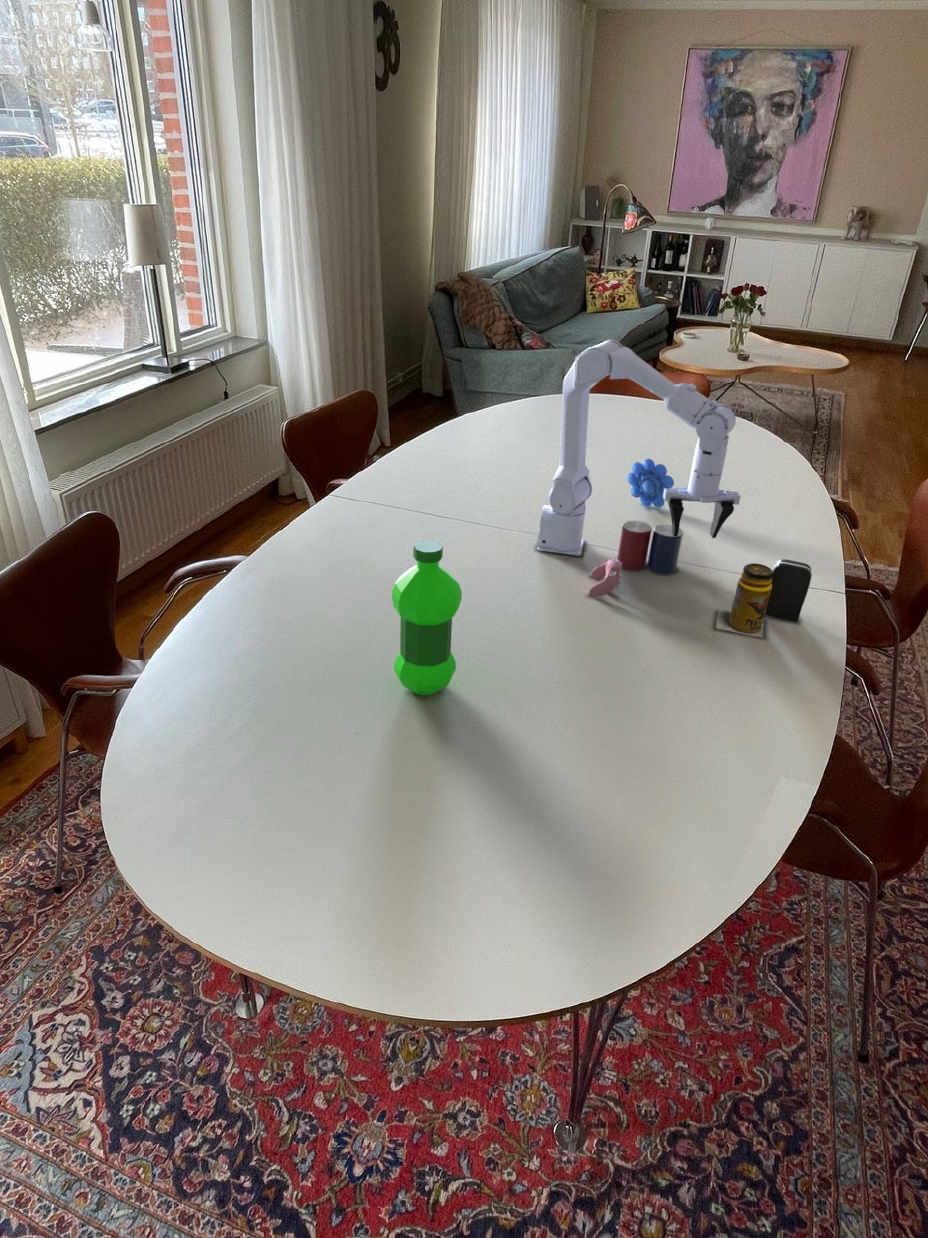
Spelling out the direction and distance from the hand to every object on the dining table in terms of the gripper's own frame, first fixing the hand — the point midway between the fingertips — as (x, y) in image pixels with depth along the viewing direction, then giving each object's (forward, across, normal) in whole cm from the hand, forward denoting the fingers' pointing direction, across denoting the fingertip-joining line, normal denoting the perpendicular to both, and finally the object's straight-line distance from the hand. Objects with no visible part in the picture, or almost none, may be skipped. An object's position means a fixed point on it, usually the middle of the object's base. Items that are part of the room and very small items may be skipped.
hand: (693, 535), depth 167 cm
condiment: (+10, +7, -17) cm, 21 cm away
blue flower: (+10, -1, +39) cm, 40 cm away
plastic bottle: (+10, -51, -42) cm, 67 cm away
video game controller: (+10, -17, -5) cm, 21 cm away
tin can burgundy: (+10, -10, +7) cm, 16 cm away
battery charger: (+10, +16, -13) cm, 23 cm away
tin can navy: (+10, -4, +5) cm, 12 cm away
